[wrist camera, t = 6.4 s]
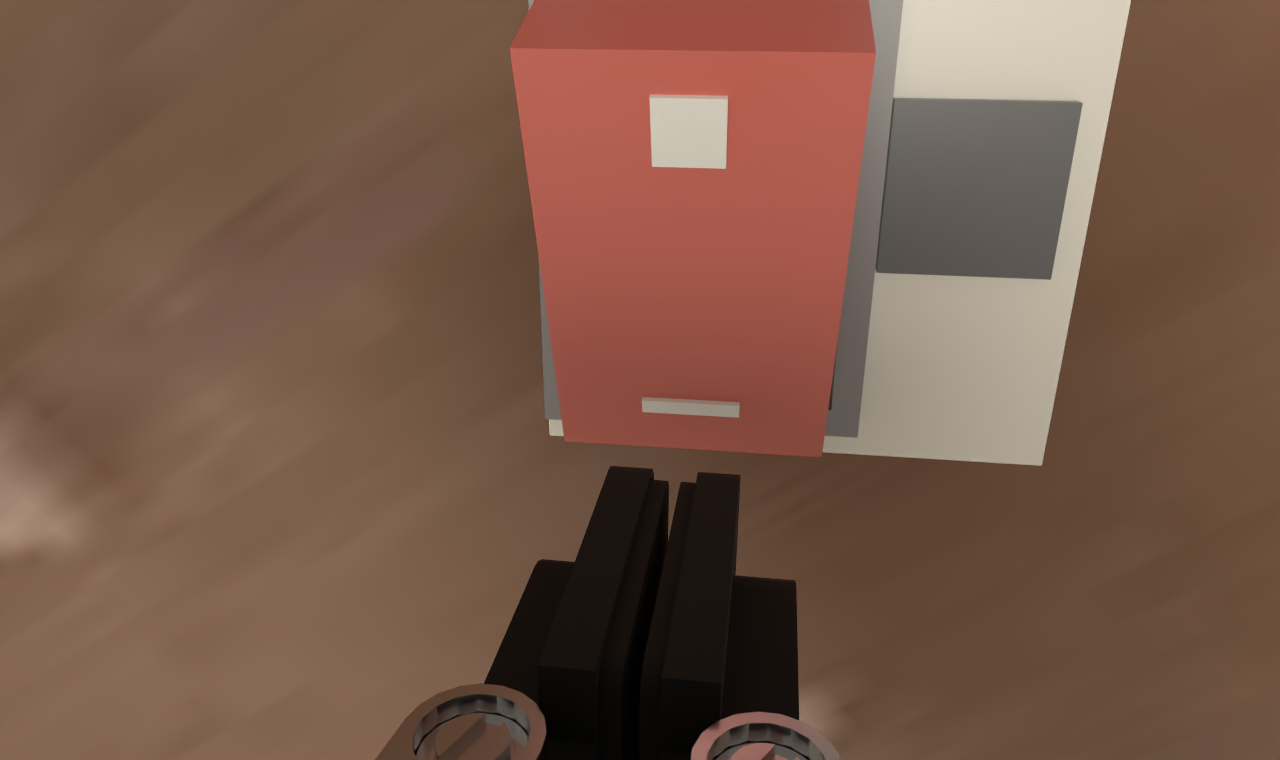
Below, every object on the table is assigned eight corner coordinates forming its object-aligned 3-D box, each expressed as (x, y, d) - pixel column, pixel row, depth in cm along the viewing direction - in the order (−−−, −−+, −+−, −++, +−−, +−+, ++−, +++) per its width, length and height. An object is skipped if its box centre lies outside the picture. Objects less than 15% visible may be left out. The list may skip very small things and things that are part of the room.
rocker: (865, -31, 15) (876, 55, 12) (819, 353, 20) (821, 461, 18) (550, -32, 15) (507, 51, 13) (589, 341, 21) (563, 444, 19)
